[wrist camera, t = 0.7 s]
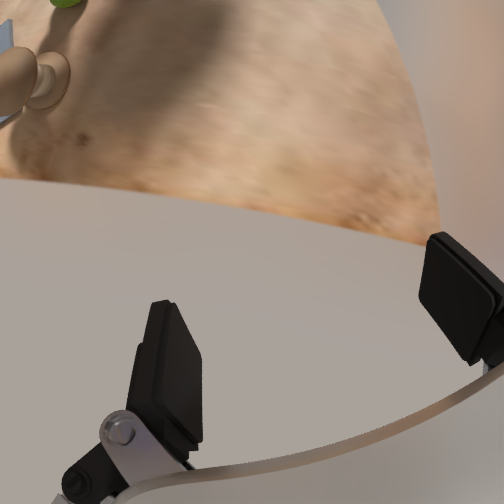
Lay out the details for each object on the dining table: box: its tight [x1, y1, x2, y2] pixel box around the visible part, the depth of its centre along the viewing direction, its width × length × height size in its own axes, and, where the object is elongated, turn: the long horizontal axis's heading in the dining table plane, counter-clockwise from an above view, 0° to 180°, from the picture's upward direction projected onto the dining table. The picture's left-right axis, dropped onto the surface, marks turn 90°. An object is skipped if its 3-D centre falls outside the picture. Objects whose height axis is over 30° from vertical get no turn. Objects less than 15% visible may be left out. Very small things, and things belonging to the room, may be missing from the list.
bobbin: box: [0, 47, 70, 117], centre depth 21 cm, size 8×8×9 cm
